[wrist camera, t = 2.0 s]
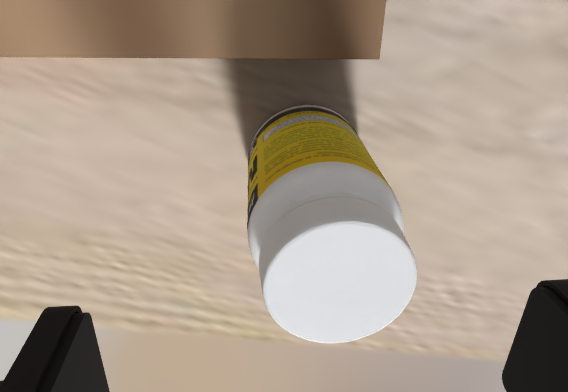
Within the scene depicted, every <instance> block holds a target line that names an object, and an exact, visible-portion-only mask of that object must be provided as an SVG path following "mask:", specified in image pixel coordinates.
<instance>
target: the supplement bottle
mask: <svg viewBox="0 0 568 392" xmlns="http://www.w3.org/2000/svg"><path fill="white" fill-rule="evenodd" d="M247 229H248V242H249V248H250V251H251V254H252V257H253V259H254V261H255V263H256V265H257V267H258V268H259V273H260V278H261V285H262V294H263V298H264V302H265V305H266V307H267V310H268V311H269V313H270V315H271V316H272V317H273V319H274V320H275V321H276V322H277V323H278V324H279V325H280V326H281V327H282V328H284V329H285V330H286V331H288V332H290V333H291V334H293V335H295V336H298V337H300V338H303V339H306V340H309V341H314V342H320V343H342V342H349V341H353V340H357V339H360V338H363V337H366V336H368V335H371V334H373V333H375V332H377V331H379V330H381V329H382V328H384V327H385V326H387V325H388V324H390V323H391V322H392V321H393V320H394V319H395V318H396V317H397V316H399V315H400V313H401V312H402V311H403V310H404V308H405V307H406V306H407V304H408V303H409V301H410V299H411V297H412V295H413V292H414V289H415V285H416V279H417V268H416V263H415V258H414V255H413V253H412V251H411V248H410V246H409V244H408V242H407V241H406V239H405V237H404V235H403V230H404V225H403V216H402V211H401V208H400V205H399V203H398V201H397V198H396V196H395V194H394V192H393V191H392V189H391V187H390V186H389V184H388V183H387V181H386V180H385V178H384V177H383V175H382V174H381V172H380V170H379V169H378V167H377V166H376V164H375V162H374V161H373V159H372V158H371V156H370V155H369V153H368V151H367V149H366V148H365V146H364V144H363V143H362V141H361V140H360V138H359V136H358V135H357V133H356V131H355V130H354V129H353V127H352V126H351V125H350V124H349V122H348V121H347V120H346V119H345V118H344V117H342V116H341V115H340V114H338V113H337V112H335V111H333V110H330V109H328V108H325V107H322V106H316V105H299V106H294V107H290V108H287V109H285V110H282V111H280V112H278V113H277V114H275V115H273V116H272V117H271V118H269V119H268V120H267V121H266V122H265V123H264V124H263V125H262V126H261V127H260V129H259V130H258V132H257V133H256V135H255V137H254V139H253V141H252V144H251V147H250V151H249V159H248V222H247Z"/></svg>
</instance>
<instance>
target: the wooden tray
mask: <svg viewBox="0 0 568 392" xmlns="http://www.w3.org/2000/svg"><path fill="white" fill-rule="evenodd" d="M385 5H386V0H0V57H81V58H250V59H379V58H380V49H381V40H382V32H383V23H384V14H385Z"/></svg>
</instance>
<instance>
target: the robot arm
mask: <svg viewBox="0 0 568 392" xmlns="http://www.w3.org/2000/svg"><path fill="white" fill-rule="evenodd" d="M502 380H503V385H504V388H505V389H506V391H507V392H568V279H564V280H546V281H541V282H540V283H538V285H537V287H536V288H534V289H533V290H532V291H531V293H530V295H529V298H528V301H527V304H526V307H525V310H524V312H523V315H522V318H521V321H520V324H519V327H518V330H517V332H516V335H515V338H514V341H513V344H512V347H511V350H510V352H509V355H508V358H507V361H506V364H505V367H504V370H503V373H502ZM0 392H109V388H108V384H107V380H106V375H105V371H104V367H103V363H102V359H101V355H100V351H99V347H98V343H97V338H96V334H95V330H94V326H93V322H92V318H91V315H90V314H89V313H82V311H81V308H80V307H79V306H61V307H47V308H46V309H44V311H43V312H42V314H41V315H40V317H39V319H38V321H37V323H36V324H35V326H34V328H33V330H32V331H31V333H30V335H29V337H28V338H27V340H26V342H25V344H24V346H23V347H22V349H21V351H20V353H19V354H18V356H17V358H16V360H15V362H14V363H13V365H12V367H11V369H10V370H9V372H8V374H7V376H6V377H5V379H4V380H3V381H0Z"/></svg>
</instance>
